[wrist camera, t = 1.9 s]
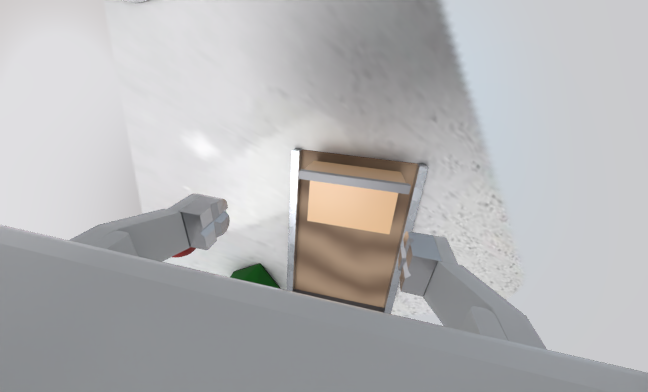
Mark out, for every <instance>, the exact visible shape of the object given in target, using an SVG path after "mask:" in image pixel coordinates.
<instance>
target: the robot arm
mask: <svg viewBox="0 0 648 392" xmlns="http://www.w3.org/2000/svg"><path fill="white" fill-rule="evenodd" d="M122 1H126V2H132V3H138V2H144V1H147V0H122ZM227 208H228V207H227V202H226V200H224V199H221V198H216V197H211V196H206V195H201V194H191V195H189V196H188V197H186V198H184V199H183V200H181V201H180V202H178V203H176V204H175V205H173V206H172V207H170V208H168V209H161V210H157V211H153V212H149V213H145V214H141V215H137V216H133V217H129V218H125V219H121V220H117V221H113V222H109V223H104V224H100V225H97V226H95V227H93V228H91V229H90V230H88V231H86V232H84V233H82V234H80V235H78V236H76V237H74V238H72V239H71V240H64V239H60V238H56V237H51V236H47V235H42V234H38V233H33V232H29V231H25V230H21V229H16V228H12V227H7V226H3V225H0V392H648V373H646V372H642V371H638V370H634V369H629V368H624V367H620V366H616V365H611V364H607V363H603V362H598V361H594V360H590V359H585V358H581V357H576V356H572V355H568V354H563V353H559V352H554V351H550V350H547V349H546V347H545V346H544V344H543V342H542V341H541V339H540V338H539V336H538V334H537V333H536V331H535V329H534V328H533V326H532V325H531V323H530V321H529V320H528V319H527V317H526V316H525V315H524V314H523V313H522V312H520V311H519V310H518V309H517V308H515V307H514V306H513V305H511V304H510V303H509V302H508V301H506V300H505V299H504V298H503V297H501V296H500V295H499V294H498V293H496V292H495V291H494V290H493V289H491V288H490V287H489V286H488V285H486V284H485V283H484V282H482V281H481V280H480V279H479V278H477V277H476V276H475V275H474V274H472V273H471V272H470V271H469V270H467V269H466V268H465V267H464V266H462V265H458V263H457V261H456V259H455V256H454V254H453V252H452V250H451V247H450V245H449V243H448V240H447V238H445V237H442V236H435V235H427V234H421V233H414V232H408V231H406V233H405V235H404V238H403V241H404V246H402V247H401V248H400V252H399V258H398V270H399V271H400V272H401V274H400V278H399V279H400V288H401V291H402V292H406V293H410V294H414V295H418V296H423V298H424V299H425V301H426V302H427V303H428V305H429V306H430V307H431V309H432V310H433V312H434V313H435V314H436V316H437V317H438V318H439V320H440V321H441V322H442V324H443V325H444V326H441V325H436V324H432V323H428V322H423V321H419V320H415V319H410V318H406V317H401V316H397V315H392V314H388V313H383V312H379V311H375V310H370V309H366V308H362V307H357V306H353V305H349V304H344V303H340V302H336V301H331V300H327V299H322V298H318V297H314V296H309V295H305V294H301V293H296V292H292V291H288V290H283V289H279V288H274V287H270V286H266V285H261V284H257V283H252V282H248V281H244V280H239V279H235V278H230V277H226V276H222V275H217V274H213V273H208V272H204V271H200V270H195V269H191V268H187V267H182V266H178V265H173V264H169V263H165V262H162V261H164V260H166V259H168V258H170V257H172V256H174V255H176V254H178V253H180V252H182V251H184V250H186V249H188V248H190V247H193V248H199V249H204V250H208V249H209V248H210V247H211V246H212V245H213V244H214V243H215V242H216V241H217V237H218V236H221V235H223V234H224V233H225V232H226V230H227V228H228V226H229V215H228V214H227V213H226V209H227Z"/></svg>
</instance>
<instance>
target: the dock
mask: <svg viewBox="0 0 648 392" xmlns="http://www.w3.org/2000/svg"><path fill="white" fill-rule="evenodd" d="M313 161H320V162H328V163H336V164H344V165H351V166H359V167H367V168H375V169H382V170H390V171H398V172H401V173H402V175H403V178H404V180H405V182H406V183H408V184H410V185H411V188H410V192H409V194H402V193H398V198H397V202H396V207H395V211H394V216H393V220H392V225H391V230H390V234H383V233H377V232H371V231H365V230H359V229H353V228H347V227H342V226H336V225H330V224H324V223H318V222H312V221H307V216H308V201H309V186H310V180H303V179H299V170H301V169H305V168H306V167H307V166H309V165H310V164H311V163H312V162H313ZM428 168H429V167H428V166H427V165H423V164H415V163H407V162H399V161H391V160H383V159H375V158H366V157H358V156H350V155H342V154H334V153H326V152H318V151H309V150H301V149H294V150H292V156H291V184H290V212H289V240H288V268H287V290H288V291H292V292H296V293H301V294H305V295H309V296H314V297H318V298H322V299H327V300H331V301H336V302H340V303H344V304H349V305H353V306H357V307H362V308H366V309H370V310H375V311H379V312H383V313H388V314H391V311H392V307H393V303H394V299H395V295H396V291H397V287H398V284H399V280H400V279H399V278H400V274H401V272H400V271H399V270H398V258H399V252H400V248H401V247H402V246H404V241H403V238H404V235H405V233H406V231H408V232H412V229H413V226H414V222H415V218H416V214H417V210H418V206H419V202H420V199H421V195H422V191H423V187H424V183H425V179H426V175H427V171H428Z"/></svg>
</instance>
